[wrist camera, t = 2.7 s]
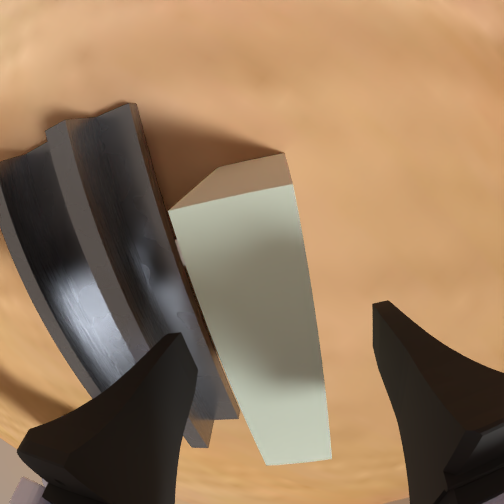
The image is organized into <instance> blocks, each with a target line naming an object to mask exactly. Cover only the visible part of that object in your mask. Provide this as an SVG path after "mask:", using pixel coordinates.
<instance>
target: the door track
mask: <svg viewBox="0 0 504 504" xmlns="http://www.w3.org/2000/svg"><path fill="white" fill-rule="evenodd" d="M45 133H46V137H47V141H48V142H46V143H44V144H43V145H41V146H39V147H37V148H36V149H34V150H32V151H31V152H29V153H27V154H25V155H21V156H18V157H14V158H11V159H8V160H4V161H1V162H0V228H1V231H2V233H3V236H4V239H5V241H6V244H7V246H8V249H9V251H10V254H11V256H12V259H13V261H14V263H15V266H16V268H17V270H18V273H19V275H20V277H21V279H22V281H23V283H24V286H25V288H26V290H27V292H28V294H29V296H30V298H31V300H32V302H33V304H34V306H35V308H36V310H37V312H38V313H39V315H40V317H41V319H42V321H43V323H44V324H45V326H46V328H47V330H48V332H49V333H50V335H51V337H52V338H53V340H54V342H55V343H56V345H57V347H58V348H59V350H60V352H61V353H62V355H63V356H64V358H65V360H66V361H67V363H68V364H69V366H70V367H71V369H72V370H73V372H74V373H75V375H76V376H77V378H78V379H79V380H80V382H81V383H82V385H83V386H84V388H85V389H86V390H87V392H88V393H89V394H90V396H91V397H92V399H94V398H95V397H96V396H98V395H99V394H101V393H102V392H103V391H105V390H106V389H107V388H109V387H110V386H111V385H112V384H114V383H115V382H116V381H117V380H118V379H119V378H121V377H122V376H123V375H124V374H125V373H126V372H127V371H128V370H129V369H131V368H132V367H133V366H134V365H135V364H136V363H137V362H138V361H139V360H140V359H141V358H142V357H143V356H144V355H145V354H146V353H147V352H148V351H149V350H150V349H151V348H152V347H153V346H154V345H155V344H156V343H157V342H158V341H160V340H161V339H162V338H163V337H164V336H165V335H166V334H168V333H179V332H181V333H182V335H183V337H184V340H185V342H186V344H187V346H188V349H189V351H190V353H191V355H192V357H193V360H194V362H195V364H196V366H197V368H198V374H197V383H196V390H195V394H194V398H193V402H192V405H191V409H190V412H189V416H188V419H187V423H186V426H185V430H184V433H183V436H184V438H185V439H186V440H187V442H188V443H189V444H190V446H191V447H193V448H208V447H209V442H210V438H211V433H212V428H213V423H214V420H221V419H239V413H240V409H239V407H238V405H237V402H236V400H235V398H234V395H233V393H232V391H231V388H230V386H229V384H228V381H227V379H226V376H225V374H224V371H223V369H222V367H221V364H220V362H219V359H218V357H217V354H216V352H215V349H214V347H213V344H212V341H211V339H210V336H209V334H208V331H207V328H206V326H205V323H204V321H203V318H202V315H201V313H200V310H199V307H198V304H197V302H196V299H195V296H194V293H193V291H192V288H191V285H190V282H189V279H188V276H187V274H186V271H185V268H184V266H183V264H182V261H181V258H180V255H179V252H178V249H177V246H176V243H175V238H174V235H173V232H172V229H171V225H170V222H169V219H168V216H167V213H166V209H165V206H164V203H163V200H162V196H161V193H160V190H159V186H158V183H157V179H156V176H155V172H154V169H153V165H152V162H151V158H150V155H149V151H148V147H147V144H146V140H145V136H144V132H143V128H142V124H141V121H140V117H139V113H138V108H137V104H135V103H128V104H126V105H123V106H121V107H118V108H116V109H114V110H111V111H109V112H107V113H104V114H102V115H100V116H98V117H91V118H79V119H69V120H64V121H62V122H60V123H58V124H57V125H55V126H53V127H51V128H49V129H48V130H46V131H45Z"/></svg>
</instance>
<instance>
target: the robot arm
mask: <svg viewBox="0 0 504 504" xmlns="http://www.w3.org/2000/svg"><path fill="white" fill-rule="evenodd" d="M372 306H373V349H374V353H375V357H376V361H377V365H378V369H379V372H380V374H381V377H382V380H383V382H384V385H385V388H386V390H387V393H388V396H389V398H390V401H391V404H392V407H393V410H394V412H395V415H396V419H397V422H398V426H399V430H400V435H401V440H402V445H403V451H404V457H405V463H406V470H407V477H408V486H409V496H410V504H504V373H502V372H499V371H496V370H494V369H491V368H488V367H486V366H484V365H482V364H479V363H477V362H475V361H473V360H471V359H469V358H467V357H465V356H463V355H461V354H459V353H458V352H456V351H454V350H452V349H451V348H449V347H447V346H446V345H444V344H443V343H441V342H440V341H438V340H437V339H435V338H434V337H433V336H431V335H430V334H429V333H427V332H426V331H425V330H423V329H422V328H421V327H420V326H418V325H417V324H416V323H414V322H413V321H412V320H411V319H410V318H408V317H407V316H406V315H405V314H404V313H403V312H401V311H400V310H399V309H398V308H397V307H396V306H394V305H393V304H392V303H391V302H390V301H383V302H379V303H374V304H372ZM197 374H198V368H197V366H196V364H195V362H194V360H193V357H192V355H191V353H190V351H189V349H188V346H187V344H186V342H185V340H184V337H183V335H182V333H181V332H179V333H168V334H166V335H165V336H164V337H163V338H162V339H161V340H160V341H158V342H157V343H156V344H155V345H154V346H153V347H152V348H151V349H150V350H149V351H148V352H147V353H146V354H145V355H144V356H143V357H142V358H141V359H140V360H139V361H138V362H137V363H136V364H135V365H134V366H133V367H132V368H131V369H129V370H128V371H127V372H126V373H125V374H124V375H123V376H122V377H121V378H119V379H118V380H117V381H116V382H115V383H114V384H112V385H111V386H110V387H109V388H107V389H106V390H105V391H103V392H102V393H101V394H99V395H98V396H96V397H95V398H94V399H92V400H90V401H89V402H87V403H86V404H84V405H82V406H81V407H79V408H77V409H76V410H74V411H72V412H70V413H68V414H66V415H64V416H61V417H60V418H58V419H56V420H53V421H51V422H48V423H46V424H43V425H40V426H37V427H35V428H31V429H29V431H28V432H27V434H26V436H25V437H24V439H23V441H22V442H21V444H20V446H19V448H18V449H17V453H18V455H19V457H20V458H21V459H22V461H23V462H24V463H25V464H26V465H27V466H29V467H30V468H31V469H32V470H33V471H34V472H35V473H37V474H38V475H39V476H40V477H42V481H43V485H44V487H43V486H42V485H40V484H38V483H36V482H34V481H32V480H30V479H28V478H26V477H22V478H21V480H20V482H19V484H18V486H17V488H16V490H15V492H14V494H13V496H12V498H11V500H10V502H9V504H175V488H176V476H177V466H178V459H179V452H180V446H181V441H182V437H183V433H184V430H185V426H186V423H187V419H188V416H189V412H190V409H191V405H192V402H193V398H194V394H195V390H196V383H197Z"/></svg>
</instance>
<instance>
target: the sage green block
mask: <svg viewBox="0 0 504 504" xmlns="http://www.w3.org/2000/svg"><path fill="white" fill-rule="evenodd" d="M168 213H169V216H170V219H171V222H172V225H173V228H174V232H175V235H176V238H177V239H176V240H175V243H176V246H177V249H178V252H179V255H180V258H181V261H182V264H183V266H186V268H187V271H188V274H189V277H190V279H191V282H192V285H193V288H194V291H195V294H196V296H197V299H198V302H199V305H200V308H201V310H202V313H203V316H204V318H205V321H206V324H207V326H208V329H209V332H210V334H211V337H212V340H213V342H214V345H215V347H216V350H217V352H218V355H219V357H220V360H221V362H222V365H223V367H224V370H225V372H226V375H227V377H228V380H229V382H230V385H231V387H232V389H233V392H234V394H235V396H236V399H237V401H238V404H239V406H240V408H241V411H242V413H243V415H244V417H245V420H246V422H247V424H248V426H249V429H250V431H251V433H252V435H253V438H254V440H255V442H256V444H257V446H258V448H259V451H260V453H261V455H262V457H263V459H264V461H265V463H266V466H267V465H282V464H294V463H304V462H312V461H320V460H327V459H332V454H331V442H330V431H329V420H328V411H327V401H326V392H325V383H324V375H323V367H322V359H321V351H320V343H319V336H318V329H317V322H316V315H315V308H314V301H313V295H312V288H311V282H310V276H309V270H308V264H307V258H306V252H305V246H304V240H303V235H302V229H301V224H300V218H299V213H298V208H297V203H296V197H295V192H294V187H293V183H292V179H291V175H290V171H289V167H288V163H287V160H286V156H285V153H282V154H277V155H271V156H267V157H262V158H257V159H252V160H248V161H243V162H238V163H234V164H230V165H225V166H221V167H218V168H217V169H215V170H214V171H213V172H212V173H211V174H210V175H208V176H207V177H206V178H205V179H204V180H203V181H201V182H200V183H199V184H198V185H197V186H196V187H194V188H193V189H192V190H191V191H190V192H189V193H188V194H186V195H185V196H184V197H183V198H182V199H181V200H180V201H179V202H177V203H176V204H175V205H174V206H173V207H172V208H171V209H170V210H169V211H168Z"/></svg>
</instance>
